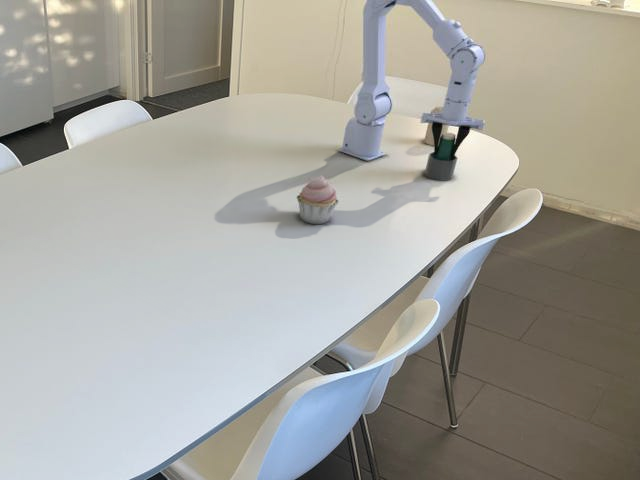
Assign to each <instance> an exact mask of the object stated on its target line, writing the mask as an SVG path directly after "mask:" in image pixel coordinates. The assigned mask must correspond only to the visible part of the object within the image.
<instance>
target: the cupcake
mask: <svg viewBox="0 0 640 480" xmlns="http://www.w3.org/2000/svg"><path fill="white" fill-rule="evenodd" d="M295 197H296V200H297V202H298V208H299V216H300V219H301V220H302V221H303V222H305V223H307V224H312V225H323V224H326V223H328V222H329V220H330V218H331V216H332V214H333V211H334V210H335V208H336V206H337V205H338V204H339V203H340V200H339V199H337V198H338V196H337V191H336V190H335V187H334V185H333V184H332V183H330V182H328V181H326V179H325V177H324V176H323V175H319V176H316V177H314V178H312V179H311V180H310V181H309V182H308V183H307V184H305V186H304V187H302V189H301V192H299V193H298V195H296V196H295Z"/></svg>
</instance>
